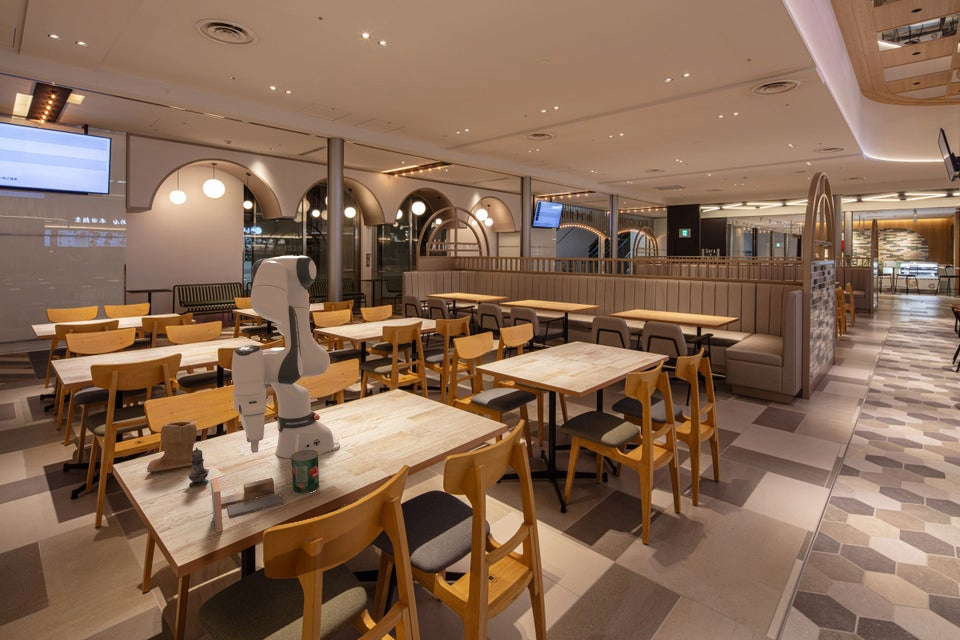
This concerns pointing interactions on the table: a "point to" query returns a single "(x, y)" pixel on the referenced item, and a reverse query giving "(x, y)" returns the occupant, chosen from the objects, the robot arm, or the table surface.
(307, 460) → the canned tomato
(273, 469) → the table surface
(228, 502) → the wooden l-shaped bracket
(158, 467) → the tan suede boot
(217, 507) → the tile
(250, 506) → the grey flat slab
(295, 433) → the robot arm
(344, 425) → the table surface
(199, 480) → the dark grey stupa figurine
